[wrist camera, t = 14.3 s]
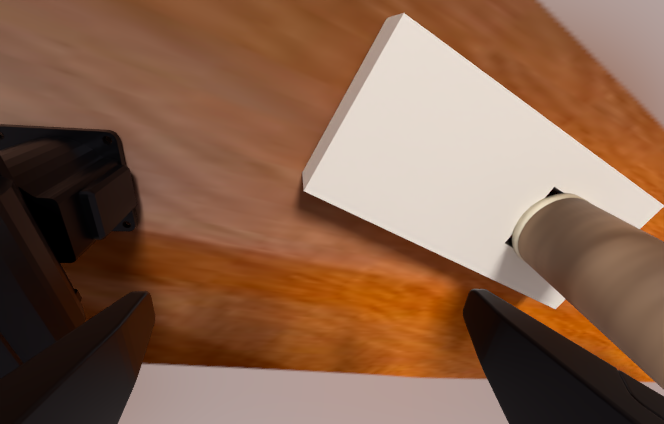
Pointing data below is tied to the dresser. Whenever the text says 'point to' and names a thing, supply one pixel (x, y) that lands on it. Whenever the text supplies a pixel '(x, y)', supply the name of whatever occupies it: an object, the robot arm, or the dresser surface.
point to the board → (454, 158)
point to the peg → (600, 272)
